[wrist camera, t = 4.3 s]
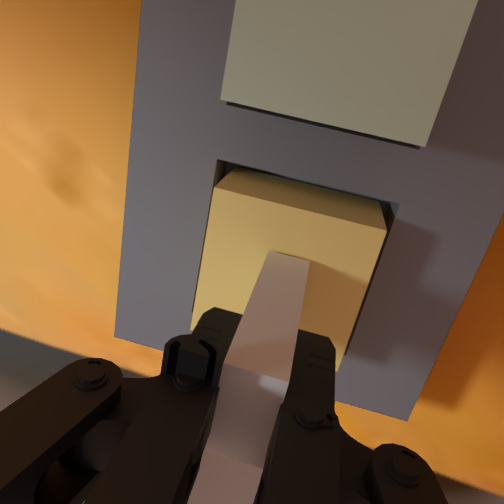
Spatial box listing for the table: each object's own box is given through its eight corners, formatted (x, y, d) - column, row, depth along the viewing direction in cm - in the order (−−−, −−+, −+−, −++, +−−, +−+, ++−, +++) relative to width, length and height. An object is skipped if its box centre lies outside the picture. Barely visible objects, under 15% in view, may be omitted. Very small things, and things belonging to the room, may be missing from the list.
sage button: (244, 92, 16) (220, 99, 13) (280, -110, 14) (262, -163, 10) (408, 130, 16) (425, 147, 12) (477, -74, 13) (520, -118, 10)
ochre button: (213, 289, 21) (190, 329, 18) (236, 166, 18) (213, 187, 15) (338, 323, 20) (337, 371, 17) (378, 201, 18) (386, 230, 15)
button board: (136, 310, 23) (114, 336, 21) (242, -705, 11) (216, -905, 9) (400, 384, 22) (407, 421, 20) (858, -668, 10) (1016, -891, 7)
